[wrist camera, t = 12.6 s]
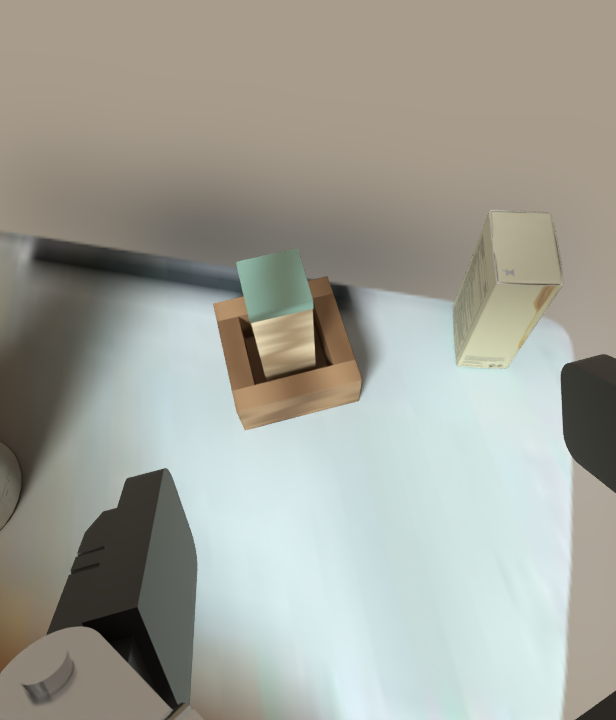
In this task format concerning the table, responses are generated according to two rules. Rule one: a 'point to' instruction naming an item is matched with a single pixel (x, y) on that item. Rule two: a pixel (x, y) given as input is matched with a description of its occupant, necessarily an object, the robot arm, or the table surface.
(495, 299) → the skincare box
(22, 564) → the table surface
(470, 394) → the table surface
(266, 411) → the socket block
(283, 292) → the peg
